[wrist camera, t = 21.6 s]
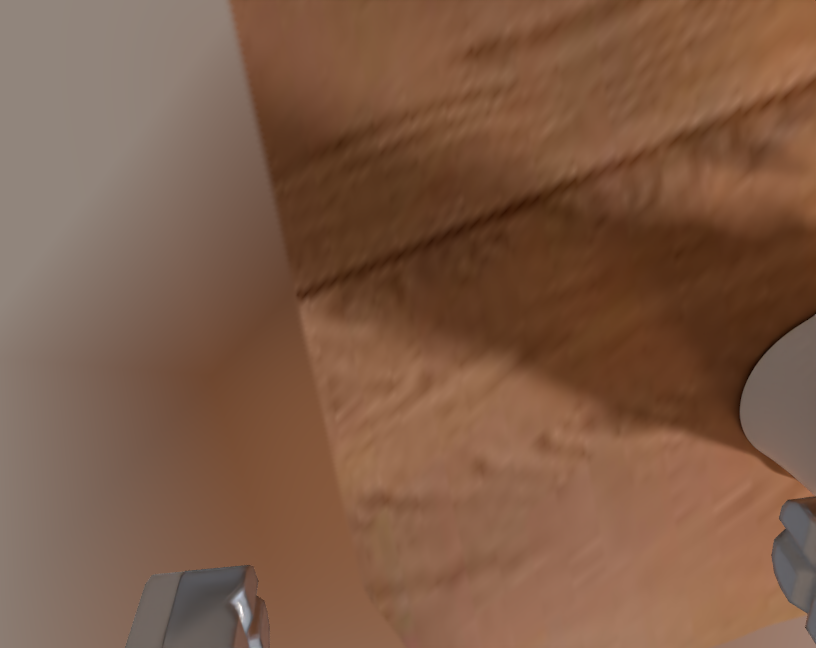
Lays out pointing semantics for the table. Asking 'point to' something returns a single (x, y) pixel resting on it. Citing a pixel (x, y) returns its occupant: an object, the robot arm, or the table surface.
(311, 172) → the table surface
